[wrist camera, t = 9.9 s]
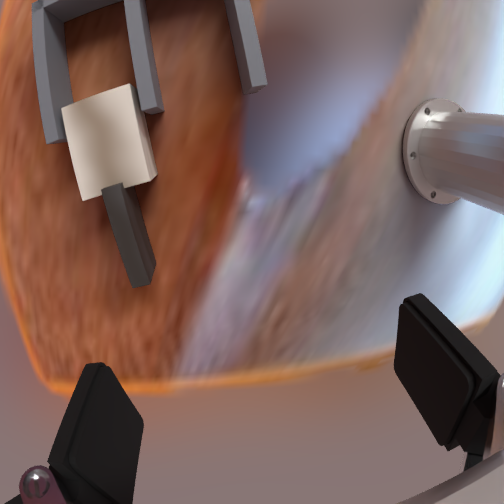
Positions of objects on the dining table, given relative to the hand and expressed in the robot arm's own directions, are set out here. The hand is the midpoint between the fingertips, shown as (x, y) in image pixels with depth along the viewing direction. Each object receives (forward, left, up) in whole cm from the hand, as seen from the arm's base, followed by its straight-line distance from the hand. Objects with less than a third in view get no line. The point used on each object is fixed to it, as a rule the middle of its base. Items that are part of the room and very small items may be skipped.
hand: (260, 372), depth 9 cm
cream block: (+8, -4, -22) cm, 24 cm away
